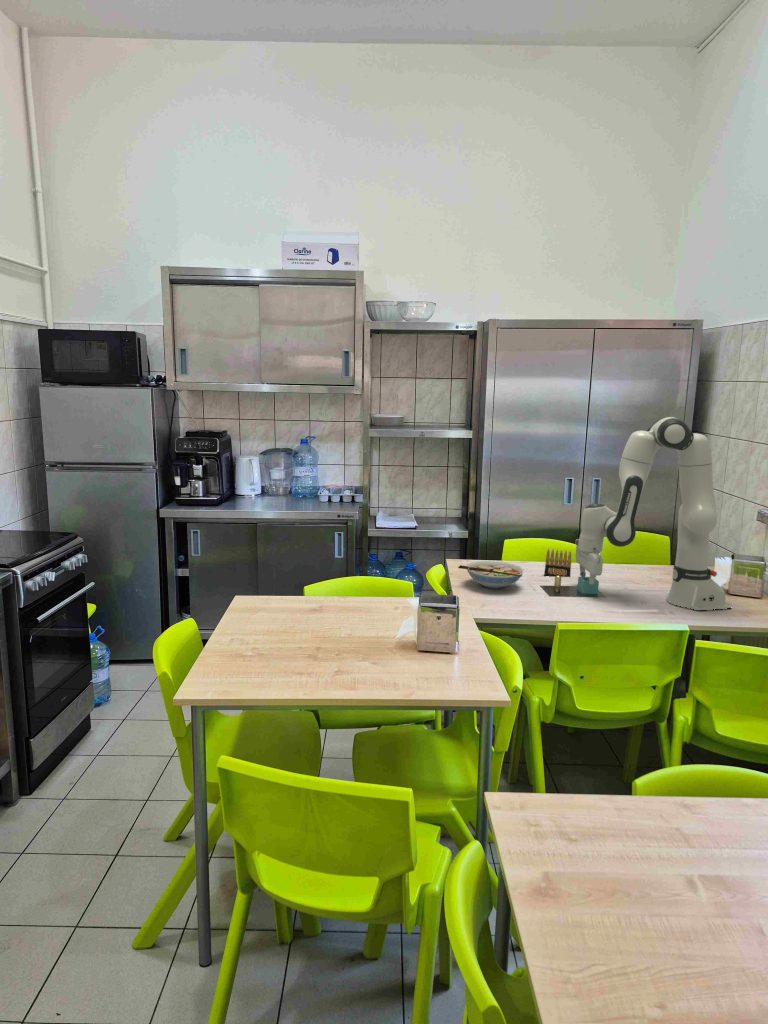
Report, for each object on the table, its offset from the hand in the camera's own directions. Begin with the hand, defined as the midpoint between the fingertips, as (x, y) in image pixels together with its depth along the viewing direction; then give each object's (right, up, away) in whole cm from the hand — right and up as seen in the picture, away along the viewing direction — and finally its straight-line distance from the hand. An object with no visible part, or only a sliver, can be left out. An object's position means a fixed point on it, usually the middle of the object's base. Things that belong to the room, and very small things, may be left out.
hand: (586, 580), depth 263 cm
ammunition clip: (-6, -1, +23) cm, 23 cm away
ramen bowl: (-35, -3, +7) cm, 36 cm away
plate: (-6, -5, +1) cm, 8 cm away
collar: (0, -5, +1) cm, 5 cm away
